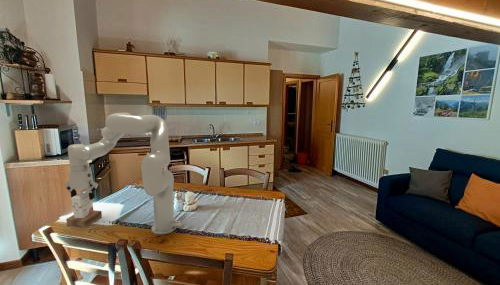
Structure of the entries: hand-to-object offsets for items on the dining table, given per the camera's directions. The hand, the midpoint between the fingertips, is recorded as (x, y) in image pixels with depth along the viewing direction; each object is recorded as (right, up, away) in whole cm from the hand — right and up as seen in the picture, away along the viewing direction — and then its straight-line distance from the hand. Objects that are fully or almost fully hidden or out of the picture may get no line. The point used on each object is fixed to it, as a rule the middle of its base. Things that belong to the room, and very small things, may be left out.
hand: (83, 198), depth 125 cm
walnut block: (-1, -14, +3) cm, 14 cm away
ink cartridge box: (-1, -9, +2) cm, 10 cm away
